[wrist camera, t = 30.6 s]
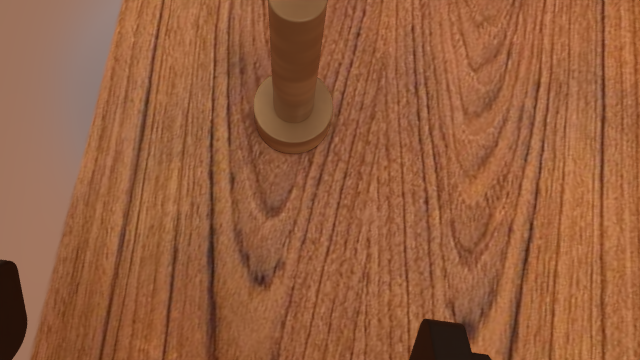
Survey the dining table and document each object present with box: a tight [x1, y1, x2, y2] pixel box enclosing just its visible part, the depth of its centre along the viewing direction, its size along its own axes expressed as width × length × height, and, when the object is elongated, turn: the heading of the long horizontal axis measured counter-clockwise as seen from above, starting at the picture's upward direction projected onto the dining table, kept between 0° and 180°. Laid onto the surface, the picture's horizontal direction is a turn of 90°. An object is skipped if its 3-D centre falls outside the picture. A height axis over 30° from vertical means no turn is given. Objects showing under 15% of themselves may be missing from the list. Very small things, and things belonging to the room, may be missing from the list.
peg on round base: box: [253, 0, 333, 154], centre depth 25 cm, size 4×4×12 cm
